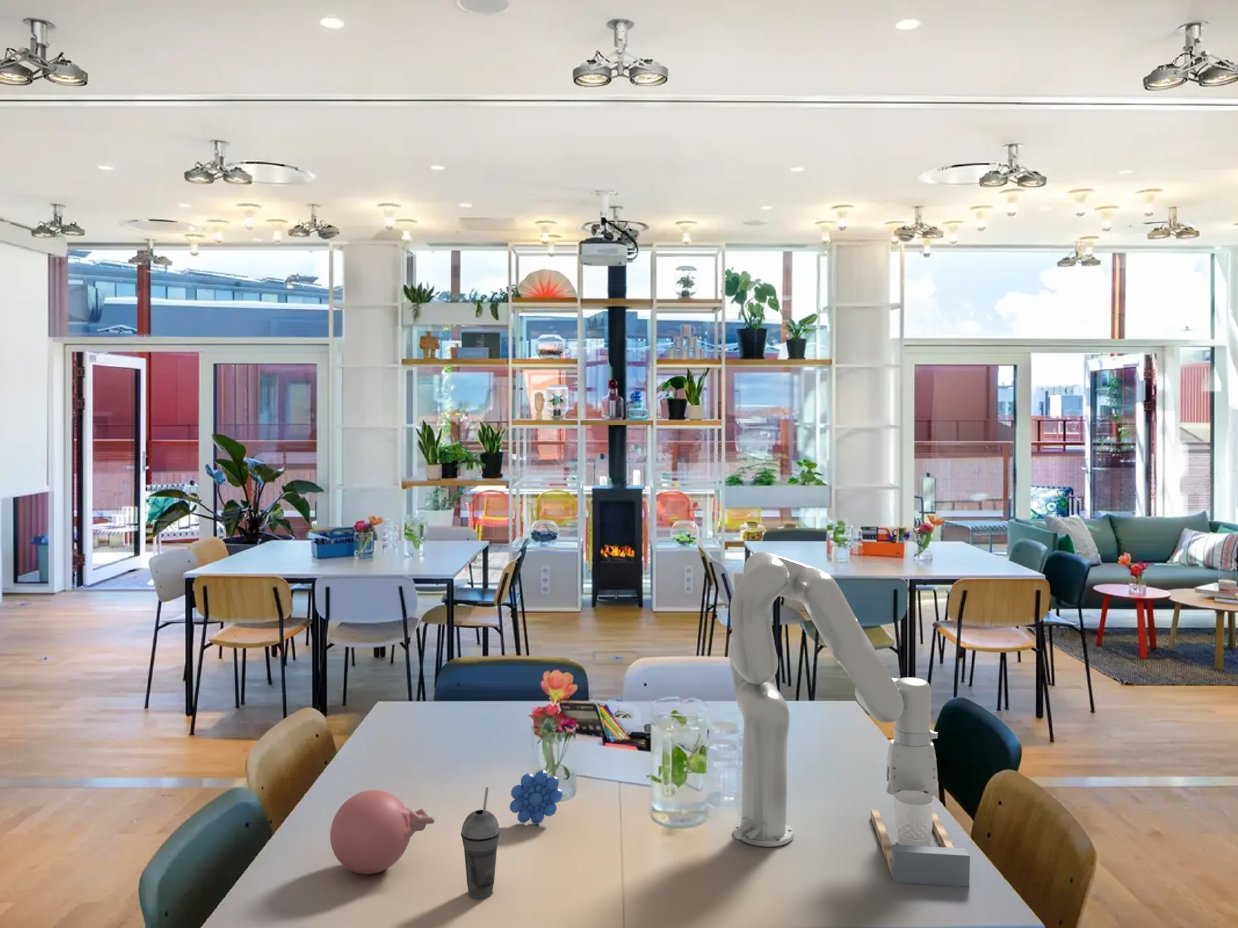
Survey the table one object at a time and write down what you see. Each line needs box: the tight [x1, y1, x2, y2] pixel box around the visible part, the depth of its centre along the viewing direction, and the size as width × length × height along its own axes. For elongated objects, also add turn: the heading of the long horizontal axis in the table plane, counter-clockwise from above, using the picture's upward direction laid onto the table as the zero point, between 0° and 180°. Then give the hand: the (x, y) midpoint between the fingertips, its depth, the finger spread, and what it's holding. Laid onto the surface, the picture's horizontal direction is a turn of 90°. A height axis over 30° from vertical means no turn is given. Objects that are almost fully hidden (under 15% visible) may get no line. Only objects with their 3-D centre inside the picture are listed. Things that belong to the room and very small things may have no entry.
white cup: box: [893, 790, 934, 847], centre depth 195 cm, size 8×8×10 cm
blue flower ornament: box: [509, 769, 563, 825], centre depth 206 cm, size 12×7×12 cm, turn 89°
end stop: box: [890, 843, 971, 887], centre depth 180 cm, size 3×14×6 cm, turn 83°
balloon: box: [329, 789, 435, 875], centre depth 183 cm, size 15×20×15 cm
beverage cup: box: [460, 787, 501, 900], centre depth 174 cm, size 7×7×20 cm
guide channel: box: [870, 808, 955, 873], centre depth 195 cm, size 27×14×2 cm, turn 173°
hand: (911, 820), depth 201 cm, fingers closed
